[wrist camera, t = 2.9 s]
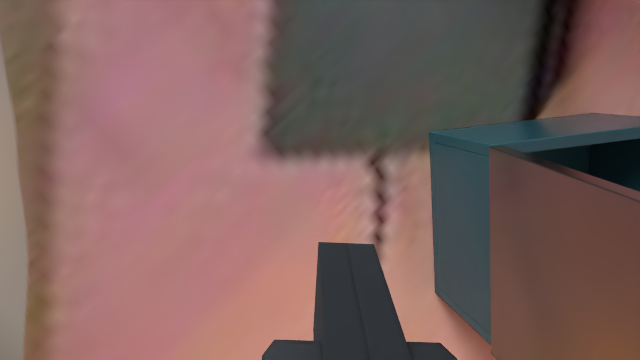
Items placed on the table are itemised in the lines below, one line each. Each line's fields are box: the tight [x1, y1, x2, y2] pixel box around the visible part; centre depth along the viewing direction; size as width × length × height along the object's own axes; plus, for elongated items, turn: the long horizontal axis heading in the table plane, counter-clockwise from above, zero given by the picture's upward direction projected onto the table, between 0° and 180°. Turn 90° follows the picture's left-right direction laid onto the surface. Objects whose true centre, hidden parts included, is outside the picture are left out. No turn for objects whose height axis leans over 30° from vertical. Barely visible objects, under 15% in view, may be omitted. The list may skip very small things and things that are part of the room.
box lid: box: [489, 145, 640, 360], centre depth 22 cm, size 16×14×1 cm
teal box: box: [429, 113, 640, 345], centre depth 35 cm, size 15×14×9 cm
